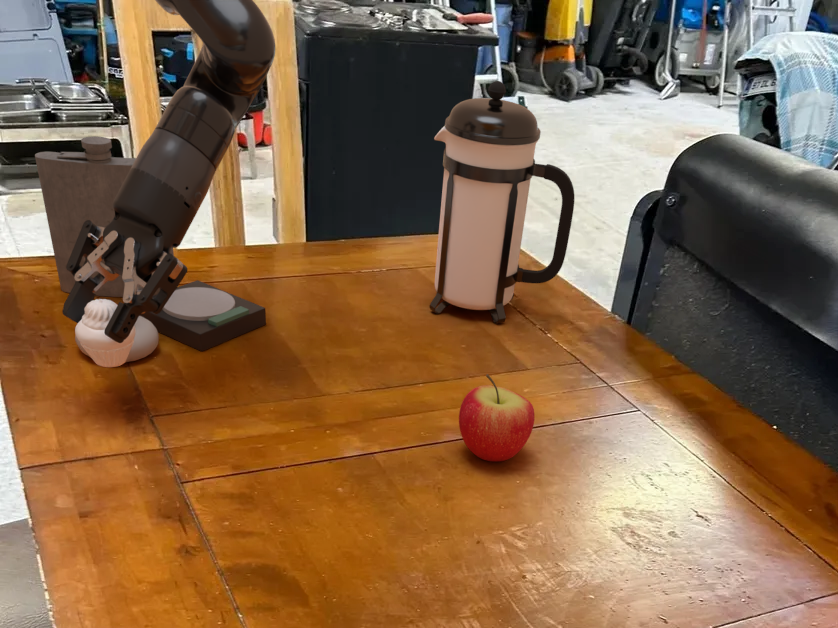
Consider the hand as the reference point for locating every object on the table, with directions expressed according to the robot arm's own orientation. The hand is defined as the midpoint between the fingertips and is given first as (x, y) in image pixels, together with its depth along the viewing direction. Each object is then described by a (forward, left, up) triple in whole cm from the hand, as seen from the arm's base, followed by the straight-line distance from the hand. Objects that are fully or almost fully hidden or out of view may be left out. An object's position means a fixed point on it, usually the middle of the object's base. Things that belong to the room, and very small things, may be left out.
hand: (91, 328), depth 94 cm
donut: (-12, +12, -11) cm, 20 cm away
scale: (-11, +25, -10) cm, 29 cm away
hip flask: (-26, +24, -11) cm, 37 cm away
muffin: (0, +2, -4) cm, 5 cm away
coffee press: (+13, +59, -11) cm, 61 cm away
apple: (+37, +24, -11) cm, 45 cm away
